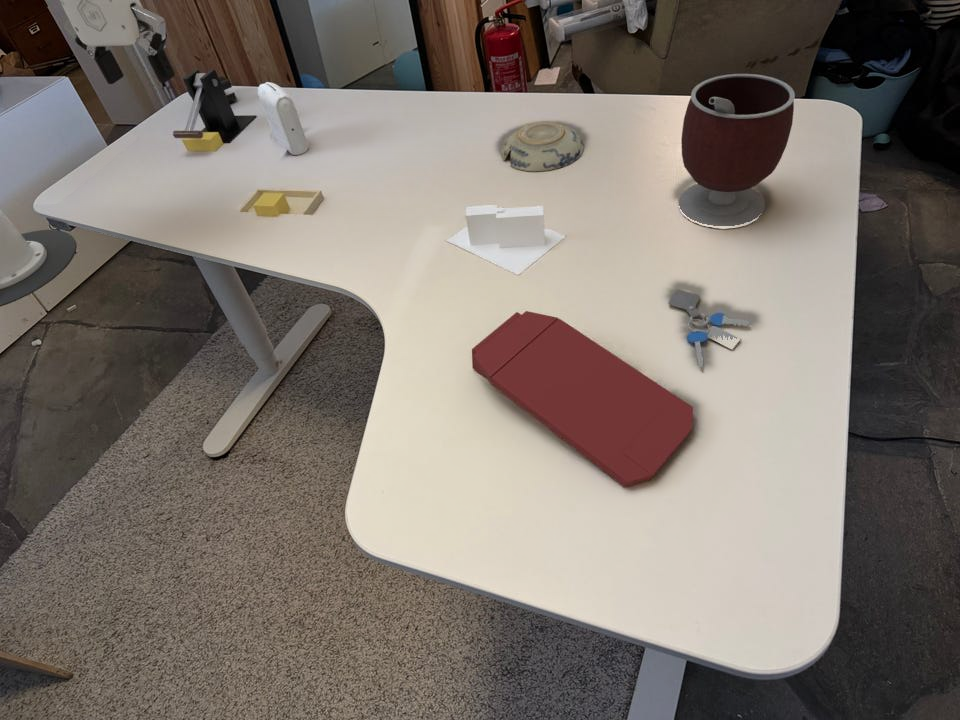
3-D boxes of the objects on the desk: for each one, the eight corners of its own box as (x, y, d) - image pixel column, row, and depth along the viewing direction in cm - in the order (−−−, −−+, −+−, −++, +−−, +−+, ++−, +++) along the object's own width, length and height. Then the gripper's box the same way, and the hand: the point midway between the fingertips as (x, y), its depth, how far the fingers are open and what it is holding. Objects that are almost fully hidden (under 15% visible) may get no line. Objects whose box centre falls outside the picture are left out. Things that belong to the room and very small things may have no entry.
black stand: (231, 147, 127) (204, 86, 117) (191, 147, 129) (161, 87, 120) (258, 120, 134) (234, 61, 125) (220, 121, 137) (194, 62, 128)
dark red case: (691, 437, 69) (526, 323, 79) (704, 414, 65) (528, 297, 75) (629, 510, 63) (461, 377, 74) (639, 490, 60) (459, 353, 70)
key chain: (662, 294, 80) (663, 289, 79) (724, 284, 80) (725, 279, 79) (698, 371, 70) (699, 366, 70) (768, 360, 70) (770, 355, 70)
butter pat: (280, 222, 103) (273, 206, 101) (259, 221, 104) (252, 205, 102) (290, 209, 106) (283, 193, 104) (270, 208, 107) (263, 192, 105)
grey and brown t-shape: (203, 141, 121) (195, 134, 119) (178, 141, 123) (170, 134, 121) (220, 80, 125) (213, 72, 122) (196, 81, 126) (188, 73, 124)
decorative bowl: (600, 144, 109) (537, 123, 117) (601, 124, 107) (536, 104, 115) (547, 182, 103) (484, 157, 111) (546, 162, 100) (482, 138, 108)
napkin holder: (566, 235, 92) (566, 203, 87) (519, 275, 87) (515, 242, 82) (493, 206, 100) (489, 175, 95) (445, 241, 94) (439, 210, 90)
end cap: (195, 108, 144) (181, 79, 139) (221, 96, 147) (209, 67, 142) (213, 118, 138) (200, 88, 134) (240, 106, 141) (228, 76, 136)
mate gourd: (702, 172, 99) (722, 43, 84) (786, 197, 91) (824, 61, 77) (649, 218, 92) (662, 87, 78) (735, 249, 85) (767, 110, 70)
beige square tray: (291, 241, 100) (288, 233, 99) (224, 238, 103) (220, 230, 102) (323, 198, 108) (321, 190, 107) (260, 196, 111) (257, 188, 110)
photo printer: (312, 149, 122) (291, 88, 113) (293, 158, 120) (270, 96, 111) (291, 134, 128) (270, 74, 119) (273, 141, 126) (249, 82, 117)
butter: (217, 155, 125) (210, 139, 123) (189, 155, 127) (181, 139, 124) (225, 147, 127) (218, 132, 125) (197, 147, 129) (189, 131, 126)
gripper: (5, -37, 81) (81, 91, 94) (109, -46, 77) (174, 89, 89) (45, -53, 86) (112, 71, 98) (145, -62, 82) (202, 68, 94)
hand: (142, 79), depth 94 cm, fingers open, 9 cm apart
